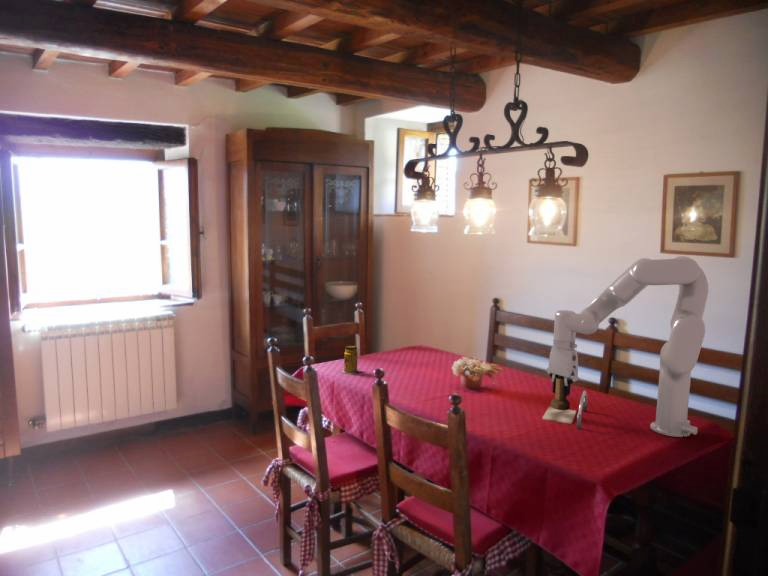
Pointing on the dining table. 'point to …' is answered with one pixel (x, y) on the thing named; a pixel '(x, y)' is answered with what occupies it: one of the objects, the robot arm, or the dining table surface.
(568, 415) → the birch board
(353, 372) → the condiment
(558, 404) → the mortar and pestle
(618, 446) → the dining table surface
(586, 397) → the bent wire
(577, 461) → the dining table surface
